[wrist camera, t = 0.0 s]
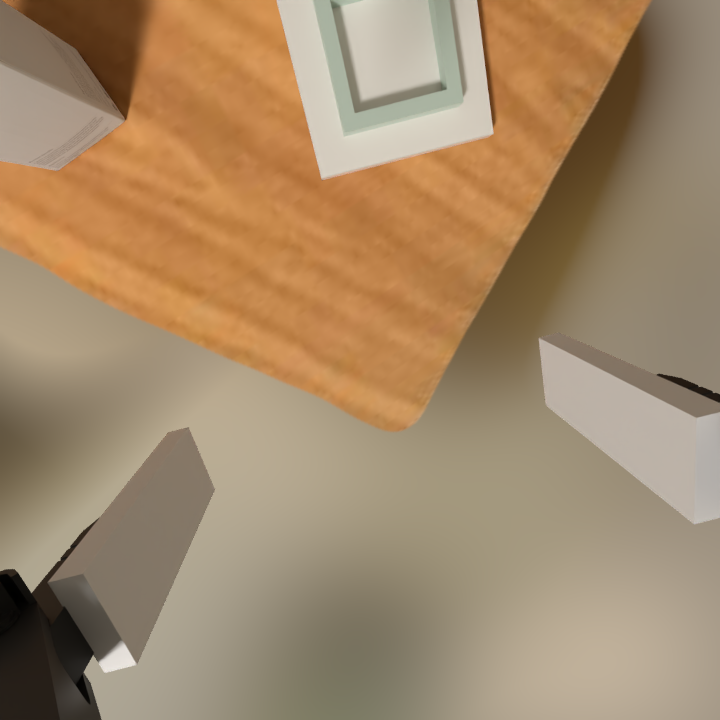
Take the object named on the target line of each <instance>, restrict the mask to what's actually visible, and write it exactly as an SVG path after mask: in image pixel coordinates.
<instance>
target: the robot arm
mask: <svg viewBox="0 0 720 720" xmlns="http://www.w3.org/2000/svg"><path fill="white" fill-rule="evenodd" d="M539 345H540V354H541V364H542V372H543V382H544V391H545V400H546V405H547V406H548V407H549V408H550V409H551V410H553V411H554V412H555V413H556V414H557V415H559V416H560V417H561V418H562V419H564V420H565V421H566V422H567V423H569V424H570V425H571V426H572V427H574V428H575V429H576V430H577V431H579V432H580V433H581V434H582V435H584V436H585V437H586V438H588V439H589V440H590V441H591V442H592V443H594V444H595V445H596V446H597V447H599V448H600V449H601V450H603V451H604V452H605V453H606V454H607V455H609V456H610V457H611V458H612V459H614V460H615V461H616V462H617V463H618V464H620V465H621V466H622V467H623V468H625V469H626V470H627V471H629V472H630V473H631V474H632V475H634V476H635V477H636V478H637V479H638V480H640V481H641V482H642V483H644V484H645V485H646V486H647V487H648V488H650V489H651V490H652V491H653V492H655V493H656V494H657V495H658V496H660V497H661V498H662V499H663V500H665V501H666V502H667V503H668V504H670V505H671V506H672V507H673V508H675V509H676V510H677V511H678V512H680V513H681V514H682V515H683V516H685V517H686V518H687V519H689V521H691V522H692V523H693V524H697V523H701V522H705V521H709V520H713V519H717V518H720V394H718V393H713V392H712V391H711V390H708V389H706V388H703V387H698V385H696V384H694V383H691V382H689V381H686V380H684V379H682V378H678V377H673V376H667V375H663V374H657V375H655V374H652V373H650V372H648V371H645V370H643V369H641V368H638V367H636V366H634V365H632V364H630V363H627V362H625V361H623V360H621V359H618V358H616V357H614V356H611V355H609V354H607V353H605V352H602V351H600V350H598V349H595V348H593V347H591V346H589V345H586V344H584V343H582V342H580V341H577V340H575V339H573V338H571V337H568V336H566V335H564V334H561V333H556V334H552V335H548V336H544V337H540V338H539ZM214 490H215V489H214V486H213V484H212V481H211V479H210V477H209V474H208V472H207V470H206V467H205V465H204V463H203V460H202V458H201V456H200V453H199V451H198V448H197V446H196V444H195V441H194V439H193V437H192V435H191V432H190V430H189V428H184V429H180V430H176V431H172V432H169V433H167V435H166V436H165V437H164V438H163V440H162V441H161V442H160V443H159V445H158V446H157V447H156V448H155V450H154V451H153V452H152V453H151V455H150V456H149V457H148V458H147V459H146V461H145V462H144V463H143V464H142V466H141V467H140V468H139V470H138V471H137V472H136V473H135V474H134V476H133V477H132V478H131V479H130V481H129V482H128V483H127V484H126V486H125V487H124V488H123V489H122V491H121V492H120V493H119V494H118V496H117V497H116V498H115V499H114V501H113V502H112V503H111V504H110V506H109V507H108V508H107V509H106V510H105V512H104V513H103V514H102V515H101V517H100V518H98V519H97V520H96V521H95V522H94V523H92V524H91V525H90V526H89V527H87V528H86V529H85V530H84V531H83V532H82V533H81V534H80V535H79V536H78V538H77V539H76V540H75V541H74V543H73V544H72V545H71V546H70V547H71V548H70V549H68V550H67V551H66V552H65V554H64V555H63V556H62V557H61V561H58V562H57V563H56V564H55V566H54V567H53V568H52V569H51V570H50V572H49V573H48V574H47V575H46V576H45V578H44V579H43V580H42V581H41V583H40V584H39V585H38V586H37V587H36V589H35V590H34V591H33V592H32V593H31V592H30V590H29V589H28V587H27V586H26V584H25V583H24V581H23V580H22V578H21V577H20V575H19V574H18V572H16V570H15V569H8V570H3V571H0V720H101V716H100V713H99V710H98V707H97V703H96V700H95V696H94V693H93V690H92V687H91V683H90V682H89V680H88V678H87V677H86V676H85V674H84V670H85V668H86V666H87V665H88V663H89V661H90V660H91V658H92V656H93V655H94V657H95V658H96V660H97V661H98V663H99V664H100V666H101V668H102V669H103V671H104V672H105V673H106V672H110V671H114V670H118V669H121V668H126V667H130V666H134V665H137V663H138V661H139V659H140V657H141V654H142V652H143V650H144V647H145V645H146V643H147V641H148V639H149V636H150V634H151V632H152V629H153V628H154V625H155V623H156V621H157V619H158V616H159V614H160V612H161V609H162V607H163V605H164V603H165V601H166V598H167V596H168V594H169V591H170V589H171V587H172V585H173V583H174V580H175V578H176V576H177V574H178V571H179V569H180V567H181V564H182V562H183V560H184V558H185V556H186V553H187V551H188V549H189V547H190V544H191V542H192V540H193V538H194V535H195V533H196V531H197V529H198V526H199V524H200V522H201V520H202V517H203V515H204V513H205V510H206V508H207V506H208V504H209V502H210V499H211V497H212V495H213V493H214Z"/></svg>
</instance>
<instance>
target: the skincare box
mask: <svg viewBox="0 0 720 720" xmlns="http://www.w3.org/2000/svg"><path fill="white" fill-rule="evenodd" d="M123 122H125V119H124V117H123V115H122V114H121V112H120V111H119V110H118V108H117V107H116V105H115V104H114V102H113V101H112V99H111V98H110V97H109V95H108V94H107V92H106V91H105V89H104V88H103V87H102V85H101V84H100V82H99V81H98V80H97V78H96V77H95V75H94V74H93V72H92V71H91V70H90V68H89V67H88V65H87V64H86V63H85V61H84V60H83V58H82V57H81V56H80V54H79V53H78V51H77V50H76V49H75V48H74V47H72V46H71V45H69V44H67V43H66V42H64V41H63V40H61V39H60V38H58V37H57V36H55V35H54V34H52V33H51V32H49V31H48V30H46V29H45V28H43V27H42V26H40V25H38V24H37V23H35V22H34V21H32V20H31V19H29V18H28V17H26V16H25V15H23V14H22V13H20V12H19V11H17V10H15V9H14V8H13V7H11V6H9V5H8V4H6V3H5V2H3V1H2V0H0V161H4V162H10V163H16V164H22V165H28V166H34V167H40V168H45V169H51V170H56V171H58V170H60V169H61V168H62V167H64V166H65V165H67V164H68V163H69V162H71V161H72V160H73V159H75V158H76V157H78V156H79V155H80V154H82V153H83V152H84V151H86V150H87V149H89V148H90V147H91V146H93V145H94V144H95V143H97V142H98V141H99V140H101V139H102V138H103V137H105V136H106V135H108V134H109V133H110V132H112V131H113V130H114V129H116V128H117V127H118V126H120V125H121V124H122V123H123Z"/></svg>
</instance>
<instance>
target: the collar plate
mask: <svg viewBox="0 0 720 720" xmlns="http://www.w3.org/2000/svg"><path fill="white" fill-rule="evenodd" d="M277 4H278V8H279V12H280V16H281V20H282V24H283V28H284V32H285V36H286V40H287V44H288V48H289V52H290V56H291V60H292V64H293V68H294V72H295V76H296V80H297V84H298V88H299V92H300V96H301V100H302V103H303V107H304V111H305V115H306V119H307V123H308V127H309V131H310V135H311V139H312V143H313V147H314V151H315V155H316V159H317V163H318V167H319V171H320V175H321V179H322V180H325V179H329V178H333V177H337V176H341V175H344V174H348V173H352V172H356V171H360V170H364V169H368V168H371V167H375V166H379V165H383V164H387V163H391V162H395V161H398V160H402V159H406V158H410V157H414V156H418V155H422V154H425V153H429V152H433V151H437V150H441V149H445V148H449V147H452V146H456V145H460V144H464V143H468V142H472V141H476V140H479V139H483V138H487V137H489V136H491V135H492V134H494V133H493V125H492V117H491V109H490V101H489V93H488V85H487V77H486V69H485V61H484V53H483V45H482V37H481V29H480V21H479V13H478V5H477V0H277Z"/></svg>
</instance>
